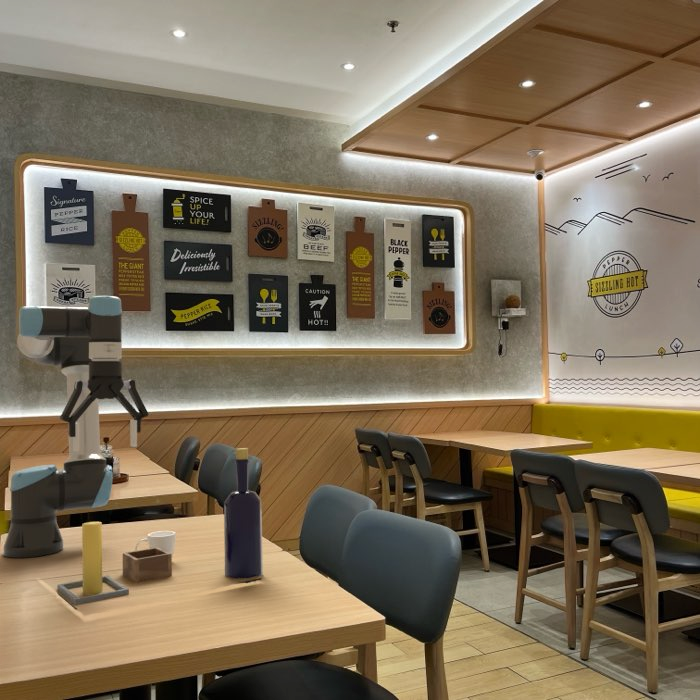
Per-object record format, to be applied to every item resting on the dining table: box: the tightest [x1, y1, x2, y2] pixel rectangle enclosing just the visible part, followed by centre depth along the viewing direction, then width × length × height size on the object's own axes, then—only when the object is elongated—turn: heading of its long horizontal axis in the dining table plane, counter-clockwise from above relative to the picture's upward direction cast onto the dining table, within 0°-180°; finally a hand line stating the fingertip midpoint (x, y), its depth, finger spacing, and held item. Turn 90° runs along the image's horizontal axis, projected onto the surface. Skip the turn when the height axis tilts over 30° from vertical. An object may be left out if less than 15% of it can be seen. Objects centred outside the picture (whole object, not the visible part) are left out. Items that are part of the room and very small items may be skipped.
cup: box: [134, 530, 177, 557], centre depth 175 cm, size 7×10×8 cm
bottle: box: [223, 447, 264, 584], centre depth 164 cm, size 9×9×30 cm
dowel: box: [81, 521, 103, 596], centre depth 152 cm, size 4×4×15 cm
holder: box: [122, 547, 173, 583], centre depth 164 cm, size 9×9×6 cm
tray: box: [56, 575, 130, 610], centre depth 151 cm, size 14×11×2 cm
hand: (105, 448), depth 168 cm, fingers open, 13 cm apart
